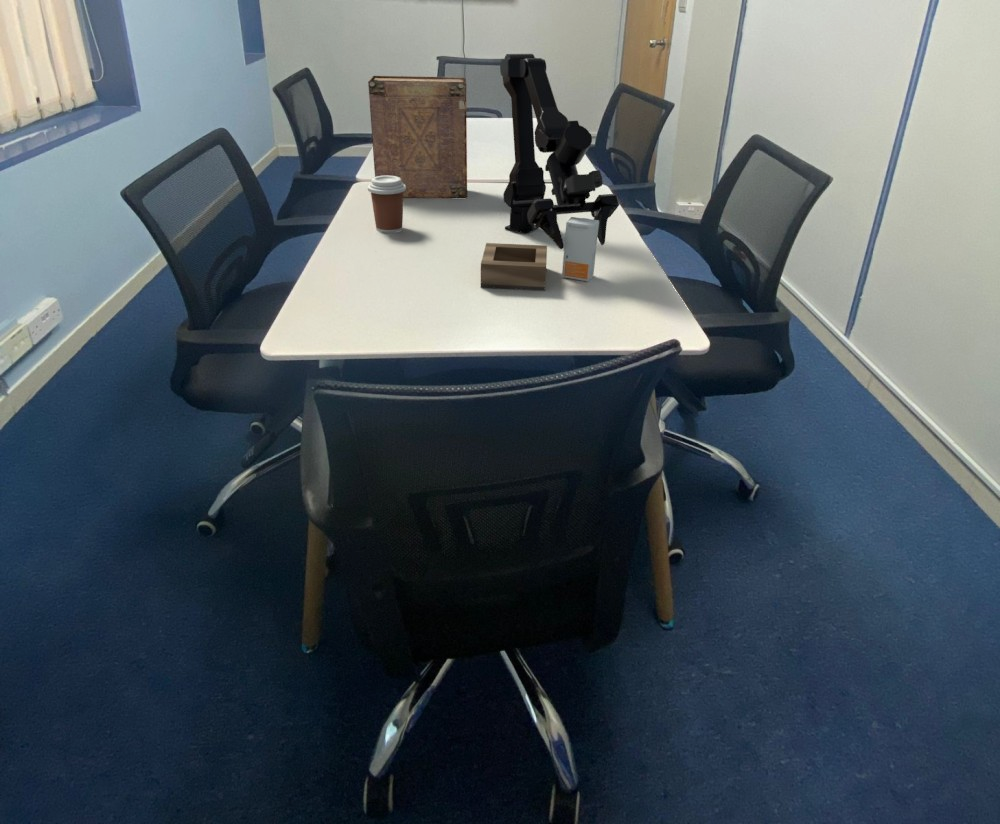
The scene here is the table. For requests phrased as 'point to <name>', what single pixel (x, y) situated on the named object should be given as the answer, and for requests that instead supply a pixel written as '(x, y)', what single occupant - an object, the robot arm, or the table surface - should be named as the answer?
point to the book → (420, 133)
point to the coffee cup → (387, 202)
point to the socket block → (514, 266)
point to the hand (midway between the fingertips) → (582, 246)
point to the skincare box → (580, 248)
